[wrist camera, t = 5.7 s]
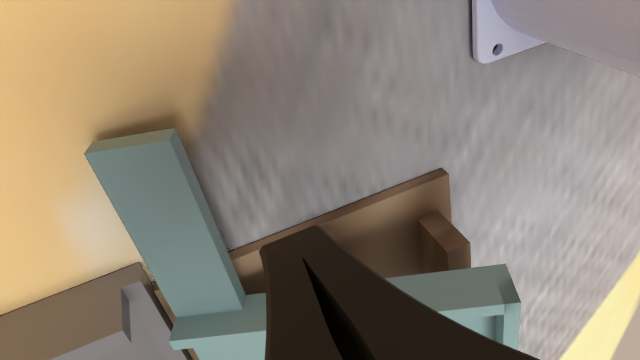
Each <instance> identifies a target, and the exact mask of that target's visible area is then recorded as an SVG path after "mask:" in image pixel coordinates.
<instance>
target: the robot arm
mask: <svg viewBox="0 0 640 360" xmlns="http://www.w3.org/2000/svg"><path fill="white" fill-rule="evenodd" d="M472 30H473V57H474V59H475V60H476V61H477V62H479V63H481V64H488V63H490V62H493V61H496V60H499V59H502V58H504V57H507V56H510V55H513V54H515V53H518V52H521V51H524V50H527V49H529V48H532V47H535V46H538V45H541V44H543V43H546V42H547V43H550V44H553V45H555V46H558V47H561V48H563V49H566V50H569V51H571V52H574V53H577V54H579V55H582V56H585V57H587V58H590V59H593V60H595V61H598V62H601V63H603V64H606V65H609V66H611V67H614V68H616V69H619V70H622V71H624V72H627V73H630V74H632V75H635V76H638V77H640V0H472ZM495 45H497V48H496V50H495V51H494V52H492V51H493V48H494V46H495ZM259 254H260V257H261V260H262V265H263V270H264V278H265V289H266V345H265V360H539V359H537V358H535V357H532V356H530V355H528V354H525V353H523V352H520V351H518V350H516V349H513V348H511V347H509V346H506V345H504V344H501V343H499V342H497V341H494V340H492V339H490V338H488V337H486V336H484V335H482V334H479V333H477V332H475V331H473V330H471V329H469V328H467V327H465V326H463V325H461V324H459V323H457V322H455V321H454V320H452V319H450V318H448V317H446V316H444V315H442V314H440V313H439V312H437V311H435V310H433V309H432V308H430V307H428V306H426V305H425V304H423V303H421V302H420V301H418V300H416V299H415V298H413V297H412V296H410V295H409V294H407V293H405V292H404V291H402V290H401V289H399V288H398V287H396V286H395V285H393V284H392V283H390V282H389V281H387V280H386V279H384V278H383V277H381V276H380V275H379V274H377V273H376V272H374V271H373V270H372V269H370V268H369V267H368V266H366V265H365V264H363V263H362V262H361V261H360V260H358V259H357V258H356V257H354V256H353V255H352V254H351V253H349V252H348V251H347V250H346V249H344V248H343V247H342V246H341V245H340V244H339V243H337V242H336V241H335V240H334V239H333V238H332V237H331V236H330V235H329V234H327V233H326V232H325V231H324V230H323V229H322V228H321V227H319V226H317V225H314V226H311V227H309V228H306V229H303V230H301V231H298V232H296V233H293V234H291V235H288V236H286V237H283V238H281V239H278V240H276V241H273V242H271V243H268V244H266V245H263V246H262V247H261V249H260V251H259Z"/></svg>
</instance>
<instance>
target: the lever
mask: <svg viewBox="0 0 640 360" xmlns="http://www.w3.org/2000/svg"><path fill="white" fill-rule="evenodd" d="M84 155H85V157H86V158H87V160H88V162H89V164H90V165H91V167H92V169H93V171H94V173H95V174H96V176H97V178H98V180H99V181H100V183H101V185H102V187H103V189H104V190H105V192H106V194H107V196H108V197H109V199H110V201H111V203H112V205H113V206H114V208H115V210H116V212H117V214H118V215H119V217H120V219H121V221H122V222H123V224H124V226H125V228H126V230H127V231H128V233H129V235H130V237H131V238H132V240H133V242H134V244H135V246H136V247H137V249H138V251H139V253H140V254H141V256H142V258H143V260H144V262H145V263H146V265H147V267H148V269H149V271H150V272H151V274H152V276H153V278H154V279H155V281H156V283H157V285H158V287H159V288H160V290H161V292H162V294H163V295H164V297H165V299H166V301H167V303H168V304H169V306H170V308H171V310H172V311H173V313H174V315H175V317H176V319H175V322H174V326H173V329H172V332H171V335H170V338H169V343H170V345H171V346H172V348H173V350H180V349H189V348H193V349H194V351H195V352H196V354H197V356H198V358H199V360H265V345H266V293H260V294H251V295H245V292H244V290H243V288H242V285H241V283H240V280H239V278H238V276H237V273H236V271H235V268H234V266H233V264H232V261H231V259H230V256H229V254H228V252H227V249H226V247H225V244H224V242H223V240H222V237H221V235H220V233H219V230H218V228H217V225H216V223H215V221H214V218H213V216H212V213H211V211H210V209H209V206H208V204H207V201H206V199H205V197H204V194H203V192H202V190H201V187H200V185H199V182H198V180H197V178H196V175H195V173H194V170H193V168H192V166H191V163H190V161H189V158H188V156H187V154H186V151H185V149H184V146H183V144H182V142H181V139H180V137H179V135H178V132H177V130H176V128H170V129H164V130H158V131H152V132H146V133H140V134H135V135H129V136H123V137H117V138H111V139H105V140H99V141H93V143H92V144H91V145H90V147H89V148H88V149H87V151H86V152H85V153H84ZM384 279H386V280H387V281H389V282H390V283H392V284H393V285H395V286H396V287H398V288H399V289H401V290H402V291H404V292H405V293H407V294H409V295H410V296H412V297H413V298H415V299H416V300H418V301H420V302H421V303H423V304H425V305H426V306H428V307H430V308H432V309H433V310H435V311H437V312H439V313H440V314H442V315H444V316H446V317H448V318H450V319H452V320H454V321H455V322H457V323H459V324H461V325H463V326H465V327H467V328H469V329H471V330H473V331H475V332H477V333H479V334H482V335H484V336H486V337H488V338H490V339H492V340H494V341H497V342H499V343H501V344H504V345H506V346H509V347H511V348H513V349H516V350H518V342H519V326H520V309H521V301H520V299H519V296H518V294H517V291H516V289H515V286H514V284H513V281H512V279H511V276H510V274H509V271H508V269H507V266H506V264H500V265H492V266H484V267H475V268H467V269H459V270H450V271H442V272H434V273H426V274H417V275H409V276H401V277H392V278H384Z"/></svg>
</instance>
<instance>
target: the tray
mask: <svg viewBox="0 0 640 360" xmlns="http://www.w3.org/2000/svg"><path fill="white" fill-rule="evenodd" d="M173 326H174V325H173V323H172V322H171V320H170V318H169V316H168V315H167V313H166V311H165V309H164V308H163V306H162V304H161V303H160V301H159V299H158V297H157V296H156V294H155V292H154V288H153V286H152V284H151V282H150V281H149V279H148V277H147V275H146V274H145V272H144V270H143V268H142V267H141V265H140V263H136V264H134V265H131V266H129V267H126V268H123V269H121V270H118V271H116V272H113V273H110V274H108V275H105V276H103V277H100V278H97V279H95V280H92V281H90V282H87V283H85V284H82V285H79V286H77V287H74V288H72V289H69V290H66V291H64V292H61V293H59V294H56V295H53V296H51V297H48V298H46V299H43V300H40V301H38V302H35V303H33V304H30V305H27V306H25V307H22V308H20V309H17V310H15V311H12V312H9V313H7V314H4V315H2V316H0V360H193V358H192V357H191V355H190V353H189V351H188V350H187V349H180V350H173V348H172V346H171V345H170V343H169V338H170V335H171V332H172V329H173Z"/></svg>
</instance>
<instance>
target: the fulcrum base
mask: <svg viewBox="0 0 640 360" xmlns="http://www.w3.org/2000/svg"><path fill="white" fill-rule="evenodd" d="M314 225H317V226H319V227H321V228H322V229H323V230H324V231H325V232H326V233H327V234H329V235H330V236H331V237H332V238H333V239H334V240H335V241H336V242H337V243H339V244H340V245H341V246H342V247H343V248H344V249H346V250H347V251H348V252H349V253H351V254H352V255H353V256H354V257H356V258H357V259H358V260H360V261H361V262H362V263H363V264H365V265H366V266H368V267H369V268H370V269H372V270H373V271H374V272H376V273H377V274H379V275H380V276H381V277H383V278H392V277H401V276H409V275H417V274H426V273H434V272H442V271H450V270H459V269H467V268H471V254H470V242H469V241H468V240H467V239H466V238H465V237H464V236H463V235H462V234H461V233H460V232H459V231H458V230H457V229H456V228H455V227H454V226H453V225H452V224H451V207H450V189H449V174H448V173H447V172H446V171H445V170H444V169H442V168H441V169H439V170H436V171H434V172H431V173H428V174H426V175H423V176H421V177H418V178H416V179H413V180H411V181H408V182H406V183H403V184H401V185H398V186H396V187H393V188H390V189H388V190H385V191H383V192H380V193H378V194H375V195H373V196H370V197H368V198H365V199H363V200H360V201H358V202H355V203H353V204H350V205H347V206H345V207H342V208H340V209H337V210H335V211H332V212H330V213H327V214H325V215H322V216H320V217H317V218H315V219H312V220H309V221H307V222H304V223H302V224H299V225H297V226H294V227H292V228H289V229H287V230H284V231H282V232H279V233H277V234H274V235H271V236H269V237H266V238H264V239H261V240H259V241H256V242H254V243H251V244H249V245H246V246H244V247H241V248H239V249H236V250H234V251H231V252H228V254H229V256H230V259H231V261H232V264H233V266H234V268H235V271H236V273H237V276H238V278H239V280H240V283H241V285H242V288H243V290H244V292H245V295H251V294H260V293H266V289H265V278H264V270H263V265H262V260H261V257H260V254H259V251H260V249H261V247H262V246H263V245H266V244H268V243H271V242H273V241H276V240H278V239H281V238H283V237H286V236H288V235H291V234H293V233H296V232H298V231H301V230H303V229H306V228H309V227H311V226H314ZM153 286H154V292H155V294H156V296H157V297H158V299H159V301H160V303H161V304H162V306H163V308H164V309H165V311H166V313H167V315H168V316H169V318H170V320H171V322H172V323H173V325H174V322H175V319H176V317H175V315H174V313H173V311H172V310H171V308H170V306H169V304H168V303H167V301H166V299H165V297H164V295H163V294H162V292H161V290H160V288H159V287H158V285H157V283H156V281H155V282H153ZM187 350H188V351H189V353H190V355H191V357H192V358H193V360H199V358H198V356H197V354H196V352H195V351H194V349H193V348H189V349H187Z"/></svg>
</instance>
